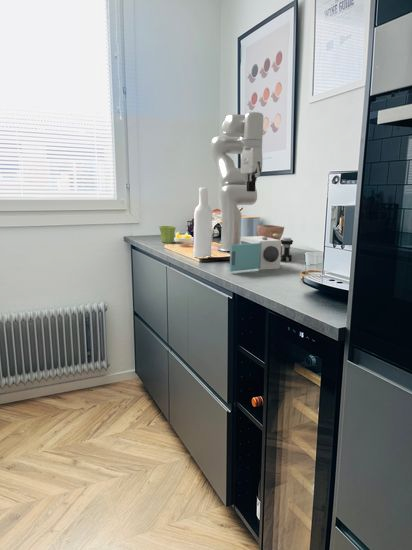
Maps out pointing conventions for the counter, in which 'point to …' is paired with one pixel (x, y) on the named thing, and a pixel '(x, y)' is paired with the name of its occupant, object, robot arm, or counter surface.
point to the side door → (245, 256)
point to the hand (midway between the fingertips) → (250, 191)
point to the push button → (286, 250)
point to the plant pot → (167, 233)
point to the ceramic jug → (270, 232)
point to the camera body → (266, 250)
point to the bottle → (202, 226)
